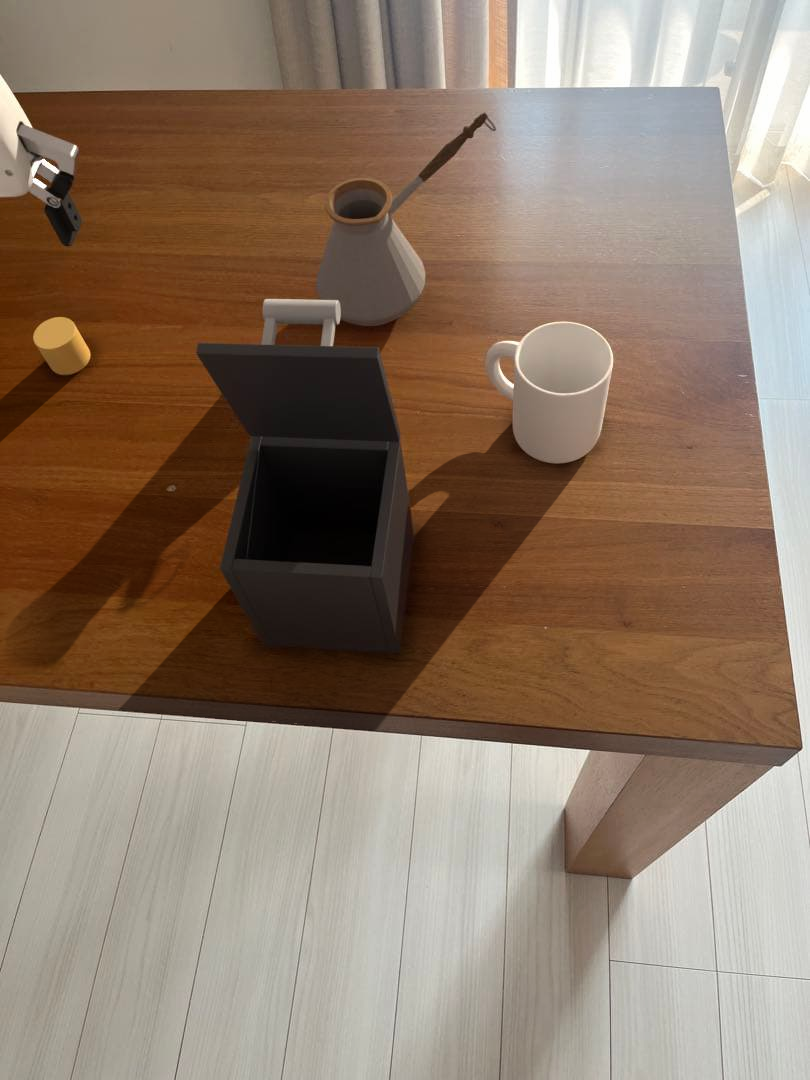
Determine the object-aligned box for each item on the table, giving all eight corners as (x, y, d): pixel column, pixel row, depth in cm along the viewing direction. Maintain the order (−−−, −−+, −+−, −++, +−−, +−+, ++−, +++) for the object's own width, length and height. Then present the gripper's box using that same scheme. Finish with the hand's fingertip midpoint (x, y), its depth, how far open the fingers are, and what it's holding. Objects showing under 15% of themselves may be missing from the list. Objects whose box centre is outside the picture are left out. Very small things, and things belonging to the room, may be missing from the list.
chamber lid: (377, 358, 55) (385, 283, 57) (195, 353, 57) (208, 280, 58) (399, 442, 67) (405, 378, 69) (248, 436, 68) (258, 374, 70)
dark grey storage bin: (399, 654, 74) (382, 578, 62) (262, 645, 75) (219, 568, 63) (414, 532, 80) (400, 441, 68) (286, 526, 81) (251, 435, 69)
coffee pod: (52, 380, 92) (35, 354, 89) (47, 350, 95) (30, 324, 91) (93, 367, 93) (78, 341, 89) (87, 338, 95) (72, 311, 92)
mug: (462, 423, 85) (459, 350, 76) (511, 367, 88) (513, 291, 79) (570, 481, 81) (579, 411, 72) (617, 421, 84) (631, 346, 75)
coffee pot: (357, 357, 90) (335, 241, 77) (300, 293, 96) (271, 175, 83) (523, 263, 95) (528, 139, 82) (460, 207, 100) (456, 82, 87)
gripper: (-229, 75, 61) (-88, 263, 76) (4, 72, 59) (102, 267, 74) (-182, 11, 65) (-56, 203, 80) (39, 7, 62) (126, 205, 77)
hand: (20, 234), depth 77 cm, fingers open, 9 cm apart
